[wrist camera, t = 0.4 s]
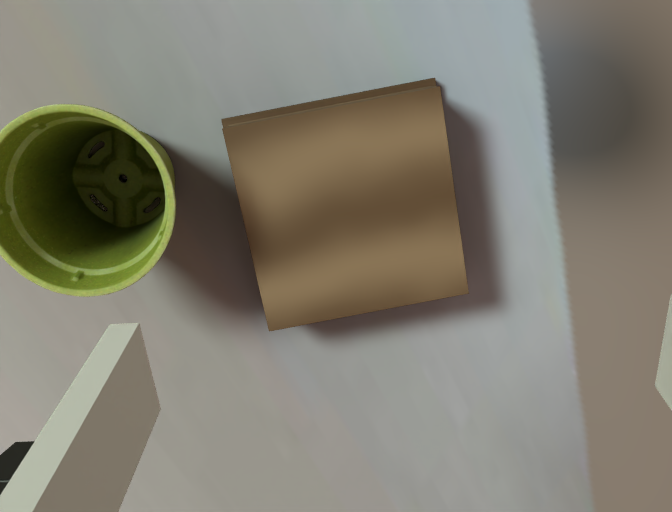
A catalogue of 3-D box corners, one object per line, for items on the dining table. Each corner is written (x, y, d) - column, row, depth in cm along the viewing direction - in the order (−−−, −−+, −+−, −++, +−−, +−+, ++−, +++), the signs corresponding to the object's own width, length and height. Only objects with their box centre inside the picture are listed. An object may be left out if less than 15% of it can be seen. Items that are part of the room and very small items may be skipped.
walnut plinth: (223, 118, 38) (213, 122, 34) (432, 78, 38) (446, 77, 34) (268, 315, 42) (263, 338, 38) (460, 278, 41) (476, 298, 38)
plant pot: (235, 179, 39) (215, 205, 31) (133, 282, 41) (87, 333, 32) (119, 65, 37) (64, 60, 29) (16, 177, 39) (-66, 203, 30)
